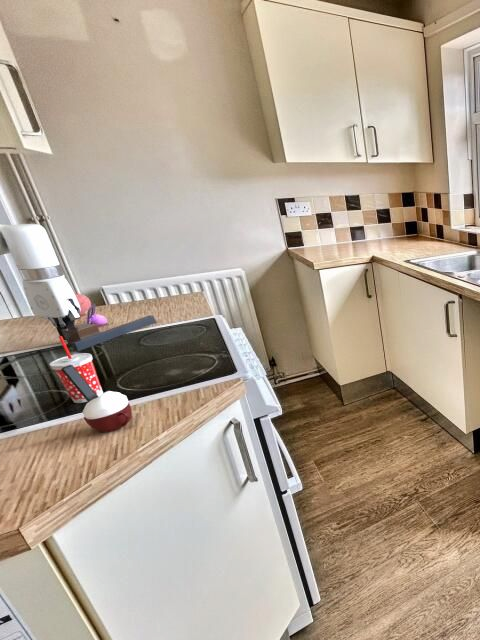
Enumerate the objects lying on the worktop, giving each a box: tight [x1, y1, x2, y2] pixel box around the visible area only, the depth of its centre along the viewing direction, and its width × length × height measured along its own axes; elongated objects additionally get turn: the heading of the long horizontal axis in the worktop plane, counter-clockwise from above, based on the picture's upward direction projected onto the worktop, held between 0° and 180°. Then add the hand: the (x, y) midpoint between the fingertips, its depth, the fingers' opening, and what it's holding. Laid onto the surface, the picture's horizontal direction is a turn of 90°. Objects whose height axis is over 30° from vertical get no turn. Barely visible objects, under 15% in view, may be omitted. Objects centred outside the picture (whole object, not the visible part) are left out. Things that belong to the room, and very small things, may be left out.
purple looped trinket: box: [85, 302, 111, 326], centre depth 128 cm, size 7×5×9 cm
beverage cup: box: [48, 335, 104, 404], centre depth 85 cm, size 6×6×14 cm
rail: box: [70, 315, 157, 352], centre depth 120 cm, size 2×22×2 cm, turn 171°
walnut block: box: [62, 323, 100, 347], centre depth 115 cm, size 5×5×5 cm
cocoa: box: [61, 365, 133, 433], centre depth 76 cm, size 10×6×12 cm, turn 53°
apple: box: [74, 293, 92, 317], centre depth 137 cm, size 7×7×8 cm
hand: (70, 338), depth 116 cm, fingers closed
